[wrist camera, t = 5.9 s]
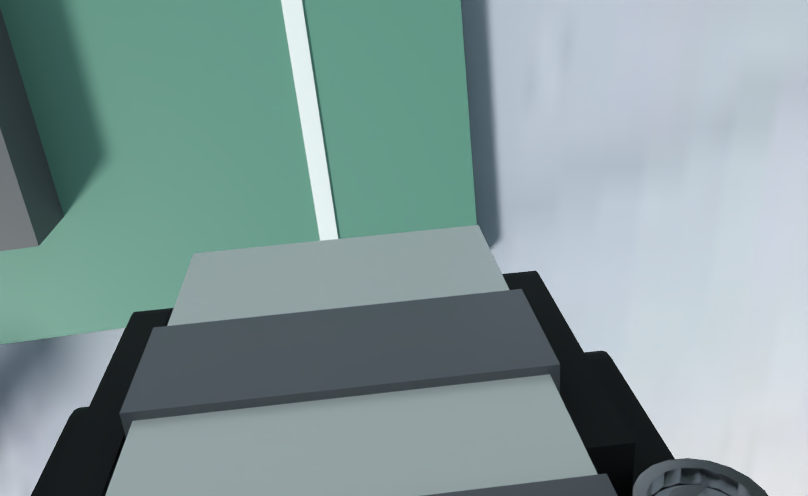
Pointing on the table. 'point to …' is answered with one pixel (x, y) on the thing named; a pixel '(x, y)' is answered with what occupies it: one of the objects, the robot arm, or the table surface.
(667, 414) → the table surface
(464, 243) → the plug
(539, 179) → the table surface
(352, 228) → the board
